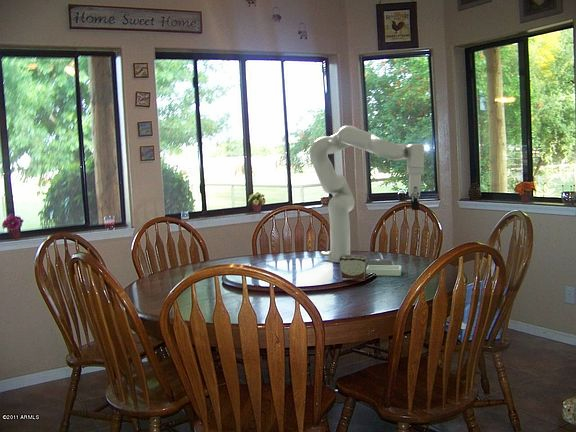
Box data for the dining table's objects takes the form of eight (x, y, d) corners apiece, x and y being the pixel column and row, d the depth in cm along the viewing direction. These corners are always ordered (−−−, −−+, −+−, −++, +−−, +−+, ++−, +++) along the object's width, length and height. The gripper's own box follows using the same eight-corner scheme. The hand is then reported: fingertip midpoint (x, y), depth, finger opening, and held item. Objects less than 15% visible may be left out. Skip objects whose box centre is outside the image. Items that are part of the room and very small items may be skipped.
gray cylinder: (368, 269, 288) (368, 260, 287) (369, 267, 292) (369, 258, 292) (393, 270, 286) (393, 260, 285) (393, 268, 290) (393, 258, 290)
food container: (370, 278, 269) (370, 254, 268) (367, 281, 263) (367, 257, 262) (342, 277, 273) (341, 253, 272) (338, 280, 267) (337, 256, 266)
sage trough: (366, 275, 276) (366, 269, 276) (367, 270, 285) (367, 265, 284) (400, 275, 273) (400, 269, 273) (401, 271, 282) (401, 265, 282)
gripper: (406, 170, 301) (406, 206, 303) (407, 172, 284) (406, 211, 286) (422, 170, 299) (422, 206, 302) (424, 172, 283) (424, 211, 285)
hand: (415, 208), depth 294 cm, fingers open, 9 cm apart
